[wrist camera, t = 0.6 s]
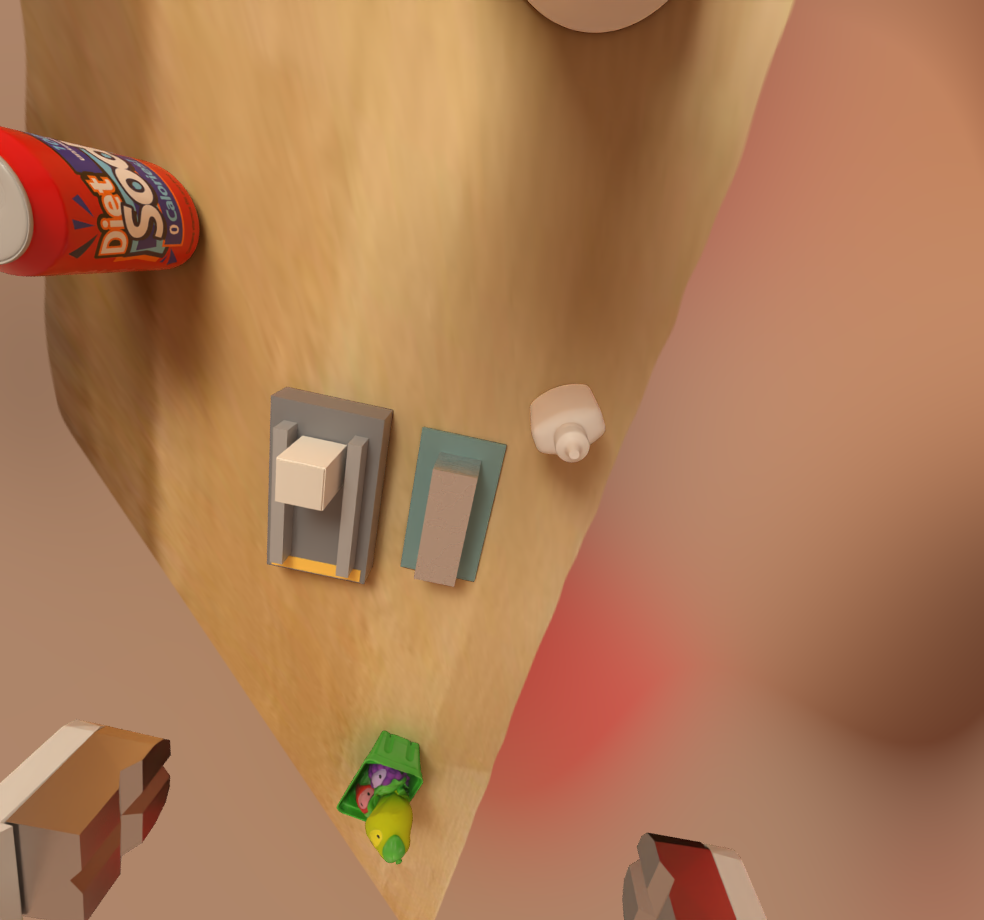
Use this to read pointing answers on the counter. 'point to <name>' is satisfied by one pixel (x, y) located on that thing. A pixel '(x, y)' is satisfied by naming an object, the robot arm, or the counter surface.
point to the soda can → (88, 210)
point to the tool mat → (482, 500)
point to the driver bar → (446, 518)
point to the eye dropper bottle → (566, 421)
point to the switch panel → (355, 507)
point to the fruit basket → (386, 794)
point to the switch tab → (310, 472)
